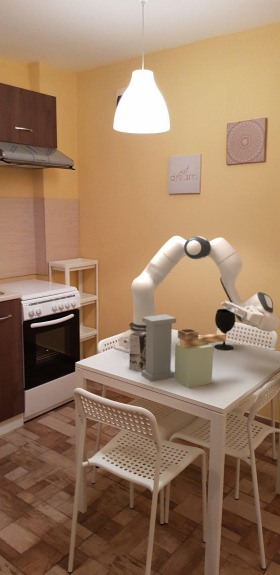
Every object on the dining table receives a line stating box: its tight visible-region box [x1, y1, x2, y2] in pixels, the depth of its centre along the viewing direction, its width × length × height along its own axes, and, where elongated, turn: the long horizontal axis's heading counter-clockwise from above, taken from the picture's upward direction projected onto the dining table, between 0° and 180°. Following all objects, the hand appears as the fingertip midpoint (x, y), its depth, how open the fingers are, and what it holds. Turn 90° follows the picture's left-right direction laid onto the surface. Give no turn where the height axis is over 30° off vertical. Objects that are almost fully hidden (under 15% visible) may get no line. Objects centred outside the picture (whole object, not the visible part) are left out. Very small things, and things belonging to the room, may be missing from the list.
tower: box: [140, 314, 177, 382], centre depth 191 cm, size 12×8×26 cm, turn 119°
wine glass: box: [213, 308, 236, 352], centre depth 234 cm, size 10×10×20 cm
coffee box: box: [128, 330, 146, 372], centre depth 203 cm, size 9×6×16 cm
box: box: [174, 342, 214, 389], centre depth 187 cm, size 12×10×16 cm
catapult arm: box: [177, 327, 227, 348], centre depth 187 cm, size 22×6×6 cm, turn 119°
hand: (229, 307), depth 193 cm, fingers open, 8 cm apart
